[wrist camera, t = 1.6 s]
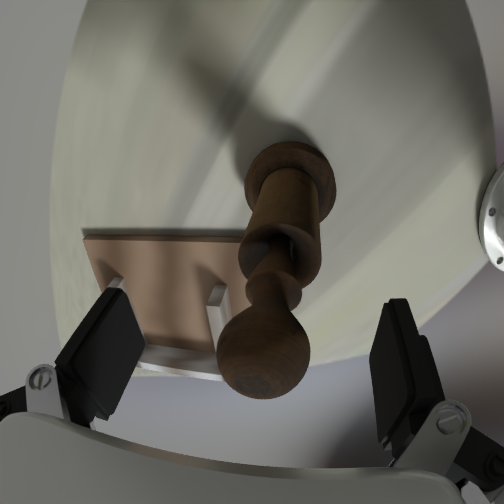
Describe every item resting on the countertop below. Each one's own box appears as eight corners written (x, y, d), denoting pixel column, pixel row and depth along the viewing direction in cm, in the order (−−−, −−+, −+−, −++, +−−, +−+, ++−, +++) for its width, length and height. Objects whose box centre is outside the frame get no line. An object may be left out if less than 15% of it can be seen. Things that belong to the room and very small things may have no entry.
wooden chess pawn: (254, 220, 26) (183, 422, 11) (244, 144, 23) (117, 300, 8) (335, 218, 25) (355, 434, 10) (332, 139, 21) (389, 304, 6)
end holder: (256, 237, 27) (248, 263, 23) (263, 359, 35) (258, 386, 32) (87, 235, 30) (66, 255, 26) (128, 341, 38) (116, 363, 35)
